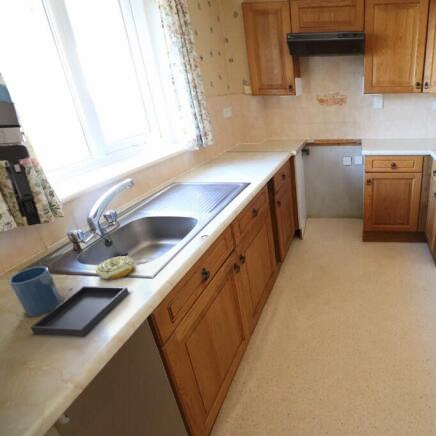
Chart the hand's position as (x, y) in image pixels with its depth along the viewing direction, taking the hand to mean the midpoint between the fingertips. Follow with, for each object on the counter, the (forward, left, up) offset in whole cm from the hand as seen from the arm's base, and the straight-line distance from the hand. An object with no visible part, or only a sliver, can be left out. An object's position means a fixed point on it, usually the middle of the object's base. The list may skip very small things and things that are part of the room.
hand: (31, 220), depth 93 cm
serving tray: (+22, +5, -22) cm, 32 cm away
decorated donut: (+5, +15, -23) cm, 28 cm away
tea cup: (+11, -4, -22) cm, 25 cm away
